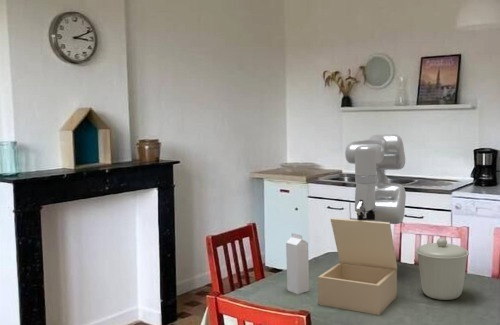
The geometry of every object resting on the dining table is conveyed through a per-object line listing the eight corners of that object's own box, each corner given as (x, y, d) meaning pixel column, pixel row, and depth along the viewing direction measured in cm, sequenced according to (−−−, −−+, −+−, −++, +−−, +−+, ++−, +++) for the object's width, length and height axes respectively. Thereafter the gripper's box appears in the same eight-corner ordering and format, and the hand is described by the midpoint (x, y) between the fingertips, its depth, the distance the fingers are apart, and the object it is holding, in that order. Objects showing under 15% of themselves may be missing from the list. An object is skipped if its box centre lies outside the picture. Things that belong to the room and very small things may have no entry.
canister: (434, 307, 188) (434, 246, 186) (406, 290, 205) (405, 235, 203) (479, 300, 192) (480, 241, 190) (448, 285, 210) (448, 230, 208)
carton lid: (339, 262, 210) (345, 251, 215) (396, 269, 198) (401, 258, 203) (330, 219, 201) (336, 209, 206) (389, 223, 190) (394, 213, 195)
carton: (340, 287, 211) (339, 262, 210) (397, 296, 199) (396, 269, 198) (318, 304, 194) (317, 276, 193) (379, 314, 182) (378, 285, 181)
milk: (297, 294, 205) (296, 236, 203) (287, 290, 210) (285, 234, 208) (309, 290, 209) (308, 234, 206) (299, 286, 214) (297, 231, 211)
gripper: (364, 176, 210) (364, 220, 212) (347, 182, 195) (348, 230, 197) (383, 177, 206) (383, 222, 208) (367, 183, 191) (368, 232, 193)
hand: (366, 226), depth 202 cm, fingers open, 8 cm apart
